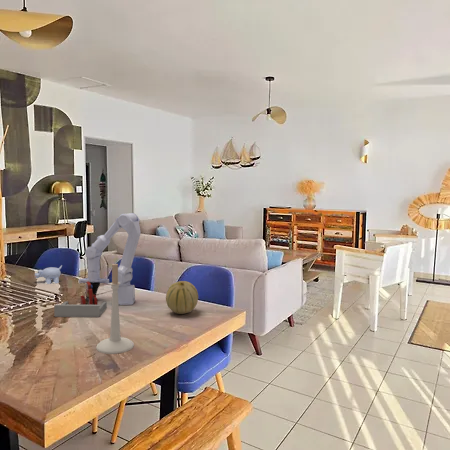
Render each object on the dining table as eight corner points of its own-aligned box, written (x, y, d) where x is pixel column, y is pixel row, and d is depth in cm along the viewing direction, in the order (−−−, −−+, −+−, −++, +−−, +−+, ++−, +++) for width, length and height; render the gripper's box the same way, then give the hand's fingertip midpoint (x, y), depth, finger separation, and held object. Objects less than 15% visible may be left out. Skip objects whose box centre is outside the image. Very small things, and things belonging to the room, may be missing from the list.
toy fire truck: (82, 309, 189) (82, 287, 188) (80, 302, 200) (79, 281, 199) (98, 307, 192) (98, 285, 191) (95, 301, 203) (94, 280, 202)
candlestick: (98, 356, 137) (97, 267, 134) (94, 342, 148) (93, 260, 146) (137, 350, 142) (137, 265, 139) (130, 338, 153) (130, 259, 151)
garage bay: (106, 308, 191) (106, 297, 191) (98, 317, 178) (98, 305, 177) (65, 307, 190) (65, 297, 190) (54, 316, 177) (54, 305, 176)
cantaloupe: (191, 307, 196) (191, 276, 194) (203, 315, 182) (203, 282, 181) (161, 310, 189) (161, 278, 188) (171, 319, 176) (171, 285, 175)
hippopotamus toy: (34, 281, 243) (34, 265, 242) (62, 279, 249) (61, 263, 248) (34, 285, 233) (34, 268, 232) (62, 283, 239) (62, 267, 239)
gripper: (110, 269, 207) (110, 295, 208) (81, 268, 207) (81, 295, 208) (107, 271, 200) (107, 299, 201) (77, 271, 200) (77, 298, 201)
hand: (94, 297), depth 204 cm, fingers closed
